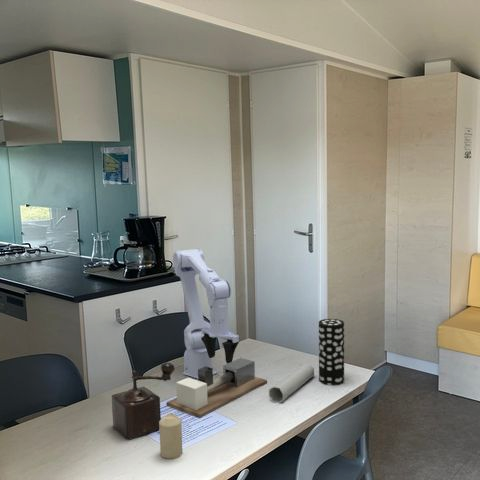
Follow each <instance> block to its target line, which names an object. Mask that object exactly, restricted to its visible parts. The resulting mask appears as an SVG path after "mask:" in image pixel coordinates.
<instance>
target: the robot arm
mask: <svg viewBox="0 0 480 480" xmlns="http://www.w3.org/2000/svg"><path fill="white" fill-rule="evenodd" d="M172 264H173V268H174V272H175V276H176V277H178V278H180V282H181V287H182V291H183V295H184V301H185V307H186V310H187V313H188V319H189V323H188V325H187V326H186V327H185V328H184V331H183V335H184V339H183V341H184V346H185V348H186V349H185V351H184V354H183V369H184V371H183V372H182V375H186V376H188V377H190V378H191V377H192V378H193V379H194V378H195V379H197V380H198V369H201V368H203V367H205V366H206V367H210V368H213V367H212V358H215V356H216V344H217V339H221V340H225V341H224V342H222V343H221V344H222V346H223V349H224V356H225V364H228V363H230V362H232V361H233V359H234V356H235V352H236V349H237V347H238V346H239V345H238V344H239V343H240V341H239V339H240V336H239V335H238V334H235V333H233V332H231V331H230V330H229V300H228V299H229V298H230V297H231V295H232V288H231V285H230V282H229V281H228V280H227V279H221V277H220V276H219V275H218V274H217V273H216V271H215V270H214V269H213V268H209V267H208V265H207V263H205V255H204V252H203V250H202V249H201V248H195V249H185V250H175V251H174V252H173V255H172ZM197 275H198V280H199V282H200V283H201V284H202V286H203V287H204V288H205V291H206V292H205V293H206V298H207V303H208V305H209V317H210V318H209V320H210V321H209V322H208V321H206V320H205V319H204V314H203V309H202V305H201V300H200V296H199V292H198V288H197V282H196V276H197ZM217 373H218V371H215V370H213V376H214V375H216V374H217Z"/></svg>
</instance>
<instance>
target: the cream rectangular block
mask: <svg viewBox="0 0 480 480" xmlns="http://www.w3.org/2000/svg"><path fill="white" fill-rule="evenodd" d="M175 384H176V385H175V386H176V398H177V403H178V404H181V405H184V406H186V407H189V408H192V409H194V410H197V409H199V408H201V407H203V406H205V405H207V404H208V399H207V383H204V382H201V381H198V379H197V380H196V379H194V378H191V377H185V378H183V379H181V380H179V381H177V382H175Z"/></svg>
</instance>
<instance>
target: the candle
mask: <svg viewBox="0 0 480 480" xmlns="http://www.w3.org/2000/svg"><path fill="white" fill-rule="evenodd" d="M182 430H183V429H182V419H181V418H180V417H179V416H177V415H176V414H173V413H171V412H169V413H167V414H166V415H164V416H163V417H162V418H161V420H160V421H159V442H160V443H159V445H160V446H159V447H160V449H159V450H160V456H161V457H163V458H164V459H170V460H171V459H176V458H178V457H180V456H182V454H183V433H182V432H183V431H182Z"/></svg>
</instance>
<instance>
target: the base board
mask: <svg viewBox="0 0 480 480" xmlns="http://www.w3.org/2000/svg"><path fill="white" fill-rule="evenodd" d="M267 383H268V379H265V378H261V377H258V376H255V379H253V380H251V381H249V382H247V383H245V384H243V385H241V386H239V387H235V386H231V385H228V384H224V385H222V386H220V387H218V388H216V389H214V390H211V391H209V392H207V399H208V404H207V405H205V406H203V407H201V408H199V409H197V410H194V409H192V408H189V407H186V406H184V405H181V404H178V403H177V397H175V398H173V399H171V400H168V401H166V406H167V407H170V408H173V409H175V410H178V411H180V412H184V413H186V414H188V415H191V416H193V417H196V418H198V419H200V418H203V417H204V416H206V415H208V414H210V413H212V412H214V411H216V410H218V409H220V408H222V407H224V406H225V405H228V404H230V403H231V402H233V401H235V400H237V399H239V398H241V397H243V396H245V395H247V394H249V393H250V392H253V391H254V390H257V389H258V388H260V387H263V386H264V385H266V384H267Z"/></svg>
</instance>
